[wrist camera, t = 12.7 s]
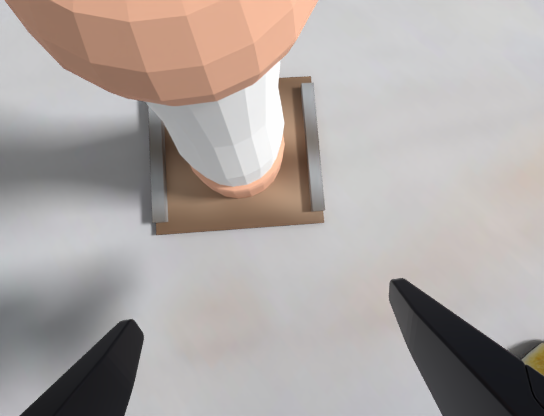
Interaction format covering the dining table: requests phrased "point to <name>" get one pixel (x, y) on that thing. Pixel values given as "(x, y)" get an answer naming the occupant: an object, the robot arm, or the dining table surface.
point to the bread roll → (536, 358)
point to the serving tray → (251, 210)
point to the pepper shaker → (186, 72)
